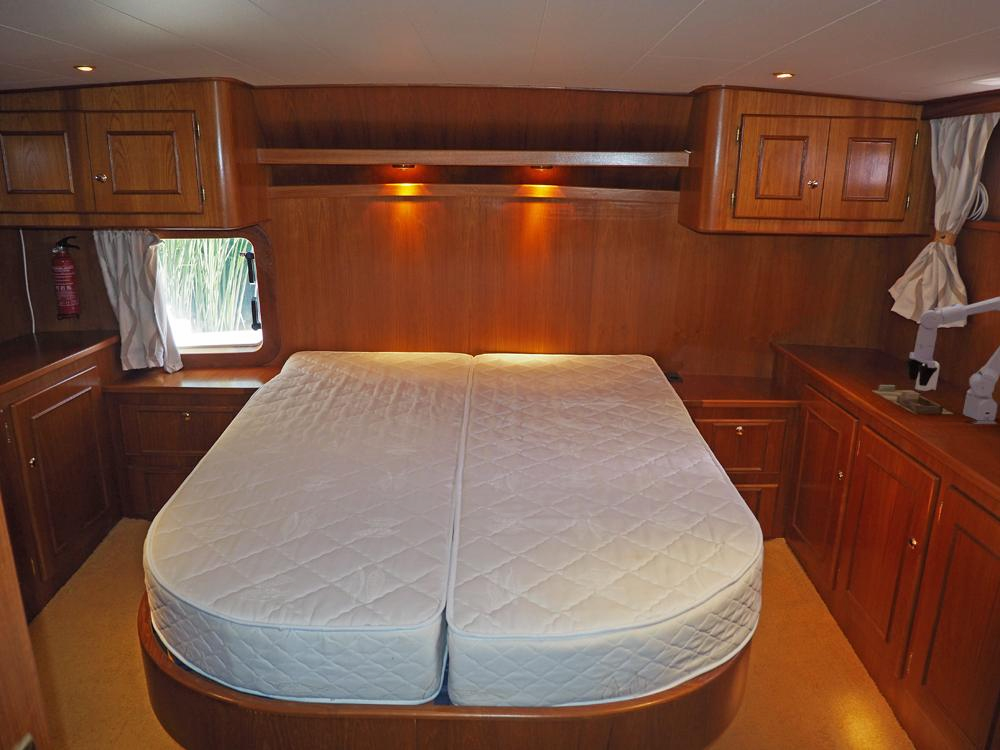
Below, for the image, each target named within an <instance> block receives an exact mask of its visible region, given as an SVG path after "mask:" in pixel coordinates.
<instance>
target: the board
mask: <svg viewBox="0 0 1000 750" xmlns="http://www.w3.org/2000/svg"><path fill="white" fill-rule="evenodd" d="M870 391H871V392H873V393H875V394H877V395H879V396H881V397H882V398H884V399H886V400H887V401H890V402H892V403H894V404H895V405H897V406H899V407H901V408H903V409H905V410H907V411H909V412H910V413H912V414H914V415H916V414H918V413H916V412H914V411H912V410H910V409H908V408H906V407H905V406H903V405H901V404H899V403H897V396H901V393H902V391H904V390H903V389H902V390H901V389H900V390H898V389H897V390H896V385H894V384H878V388H877V390H876V389H875V390H870ZM918 405H920V406H923V405H921V404H919V403H918ZM946 414H947V415H954V412H952V411H949V410H947V409H945V408H943V411H942V414H941V415H946ZM918 415H919V414H918Z"/></svg>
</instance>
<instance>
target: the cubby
mask: <svg viewBox="0 0 1000 750" xmlns="http://www.w3.org/2000/svg"><path fill="white" fill-rule="evenodd" d="M897 403H899V404H901V405H903V406H905V407H906V408H908V409H910V410H912V411H914V412H916V413H918V415H920V414H921V415H930V414H931V415H933V414H934V415H936V414H937V415H943V414H942V411H943V409H944V406H942V405H940V404H938V403H936V402H934V401H933V400H930V399H928V398H926V397H924V396H922V395H919V399H918V403H919V404H921V405H923V406H920V405H918V404H916V403H914V402H912V401H910V400H908V399H906V398H904V397H902V396H897Z"/></svg>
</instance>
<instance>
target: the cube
mask: <svg viewBox="0 0 1000 750" xmlns="http://www.w3.org/2000/svg"><path fill="white" fill-rule="evenodd" d="M901 396H902V397H904V398H906V399H908V400H910V401H912V402H914V403H916V404H918V399H919V396H920V393H918V392H916V391H914V390H903V391H902V393H901Z"/></svg>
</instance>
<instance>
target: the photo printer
mask: <svg viewBox="0 0 1000 750" xmlns="http://www.w3.org/2000/svg"><path fill="white" fill-rule="evenodd" d="M934 362H936V364H935V367H936V368H937V371H935V372H934V374H933V375H932V376H931V378H930V380H929V382H928V384H927V385H926V386H920V385H919V378H920V373H919V374H918V377H917V379H916V380H915V386H914V389H915V390H917V391H923V392H927V391H931V390H934V391H936V389H937V385H938V384H937V383H938V378H939V372H940V363H939V362H938V361H936V360H934ZM924 365H925V364H923V366H924Z"/></svg>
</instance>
